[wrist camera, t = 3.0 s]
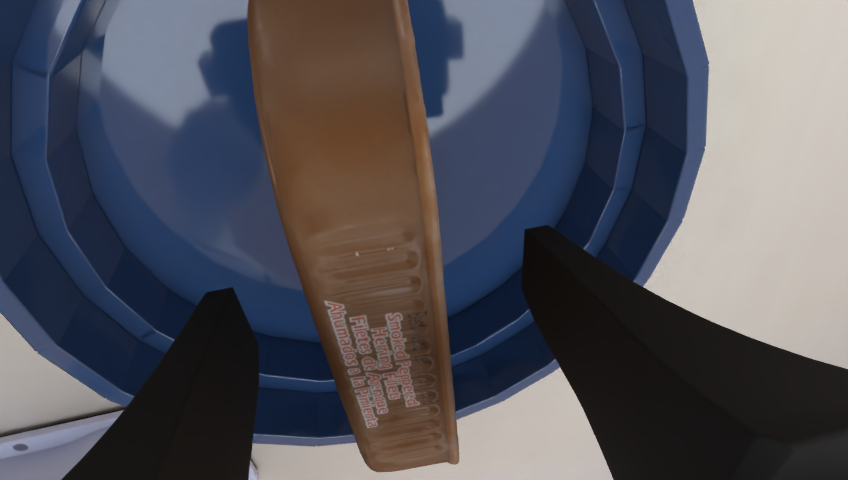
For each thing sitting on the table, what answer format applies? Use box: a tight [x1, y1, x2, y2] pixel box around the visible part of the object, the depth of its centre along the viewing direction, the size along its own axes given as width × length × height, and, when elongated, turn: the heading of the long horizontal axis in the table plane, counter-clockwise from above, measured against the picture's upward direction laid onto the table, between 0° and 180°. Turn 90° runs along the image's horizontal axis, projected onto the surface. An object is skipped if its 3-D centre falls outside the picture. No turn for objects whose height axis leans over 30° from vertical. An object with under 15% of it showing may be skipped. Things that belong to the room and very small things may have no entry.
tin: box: [247, 0, 459, 472], centre depth 13 cm, size 15×3×8 cm, turn 5°
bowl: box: [0, 0, 709, 447], centre depth 15 cm, size 19×19×4 cm
